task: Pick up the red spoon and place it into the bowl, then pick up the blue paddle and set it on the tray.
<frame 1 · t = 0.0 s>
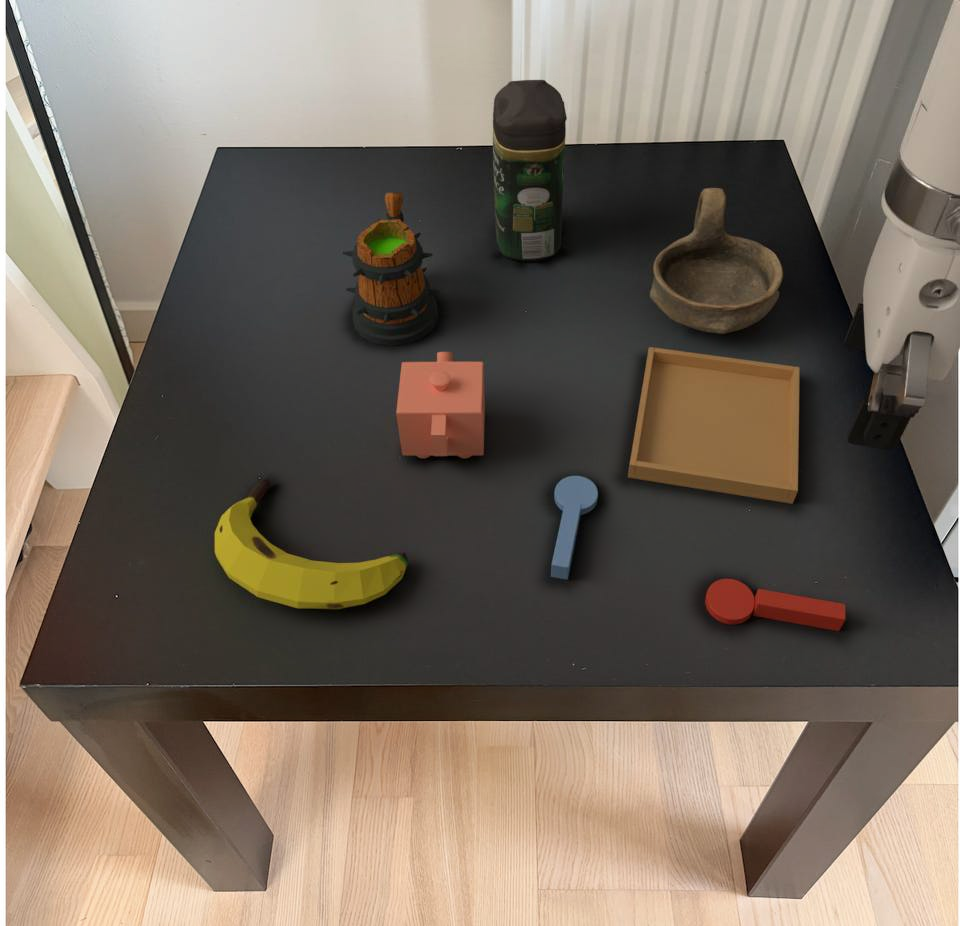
hand: (867, 393, 66), 19 cm above the table, tool pointing down, fingers open, 9 cm apart
blue paddle: (569, 528, 82), on the table
coffee jar: (527, 241, 110), on the table
piggy bank: (445, 433, 90), on the table
mug: (397, 309, 102), on the table
red spoon: (771, 611, 76), on the table
banana: (315, 550, 82), on the table
bowl: (707, 302, 102), on the table
tray: (714, 427, 90), on the table
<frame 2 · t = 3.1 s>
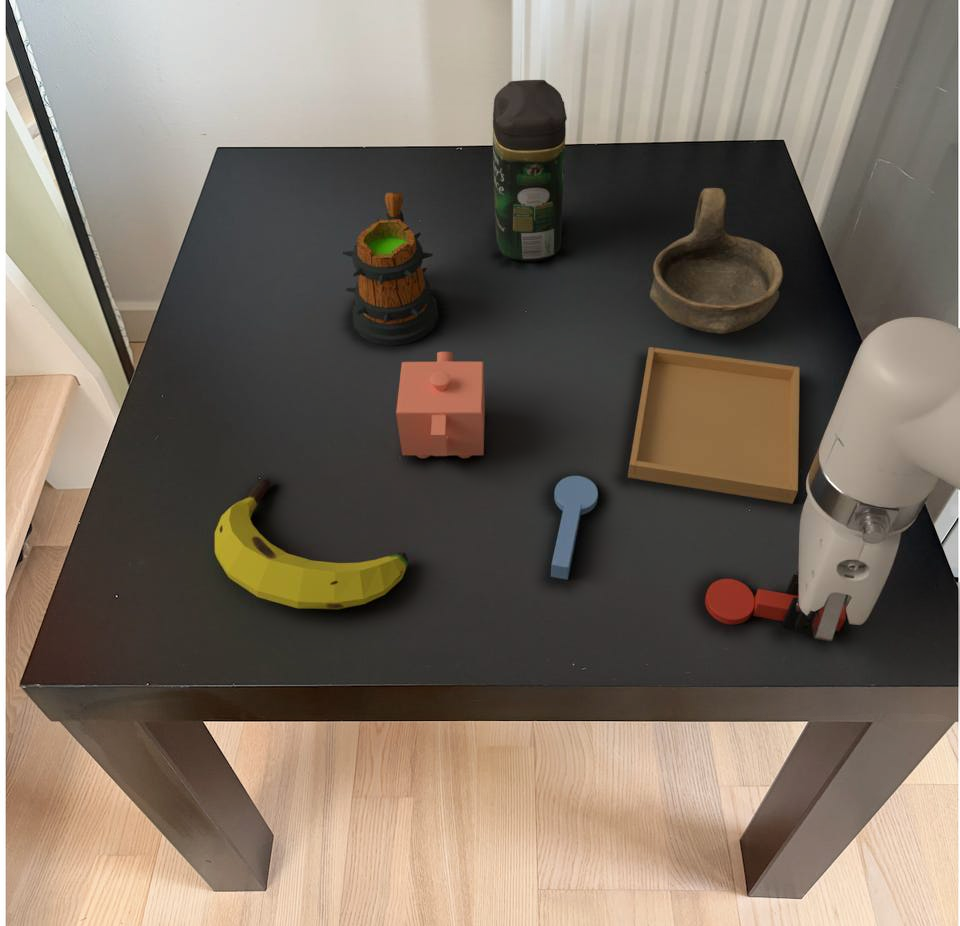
hand: (801, 616, 76), 0 cm above the table, tool pointing down, fingers closed on red spoon, 1 cm apart
red spoon: (771, 611, 76), on the table, touching gripper
everything else where it was.
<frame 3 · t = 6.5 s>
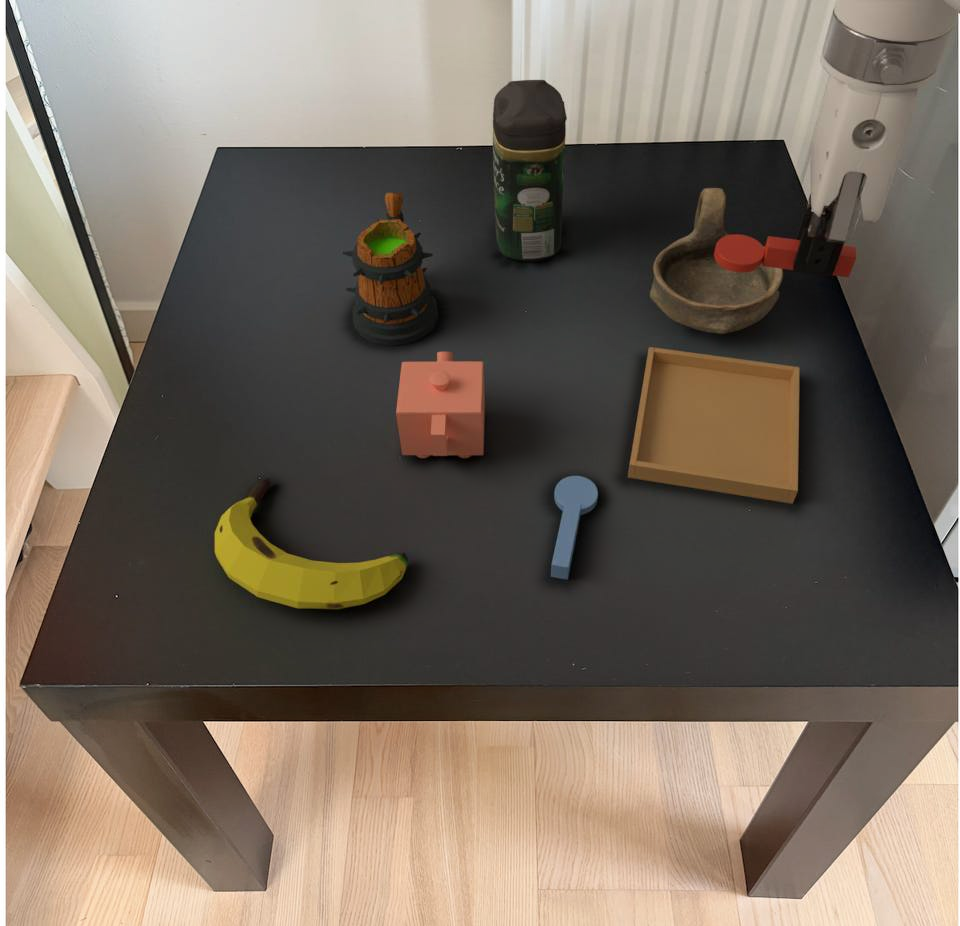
hand: (812, 262, 75), 20 cm above the table, tool pointing down, fingers closed on red spoon, 1 cm apart
red spoon: (780, 263, 76), point 19 cm above the table, touching gripper
everything else where it was.
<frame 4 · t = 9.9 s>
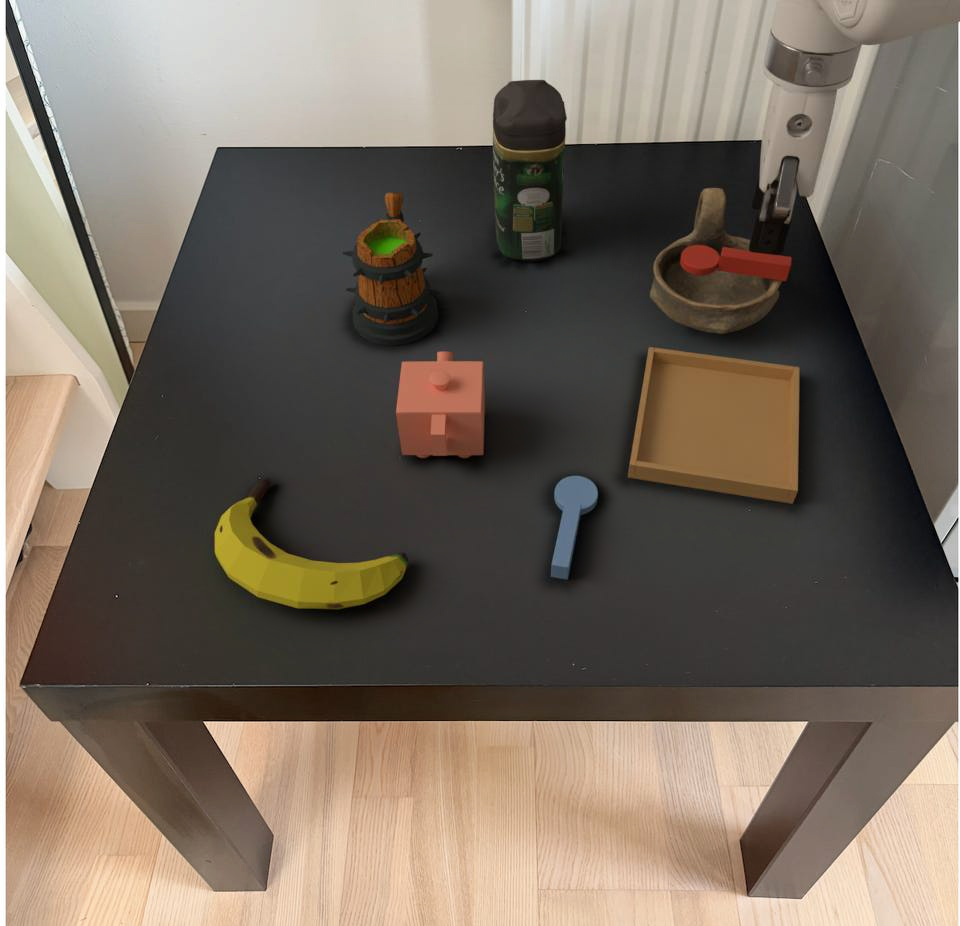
hand: (766, 228, 91), 12 cm above the table, tool pointing down, fingers open, 6 cm apart
red spoon: (732, 268, 95), point 7 cm above the table, touching bowl
bowl: (707, 302, 102), on the table, touching red spoon
everything else where it was.
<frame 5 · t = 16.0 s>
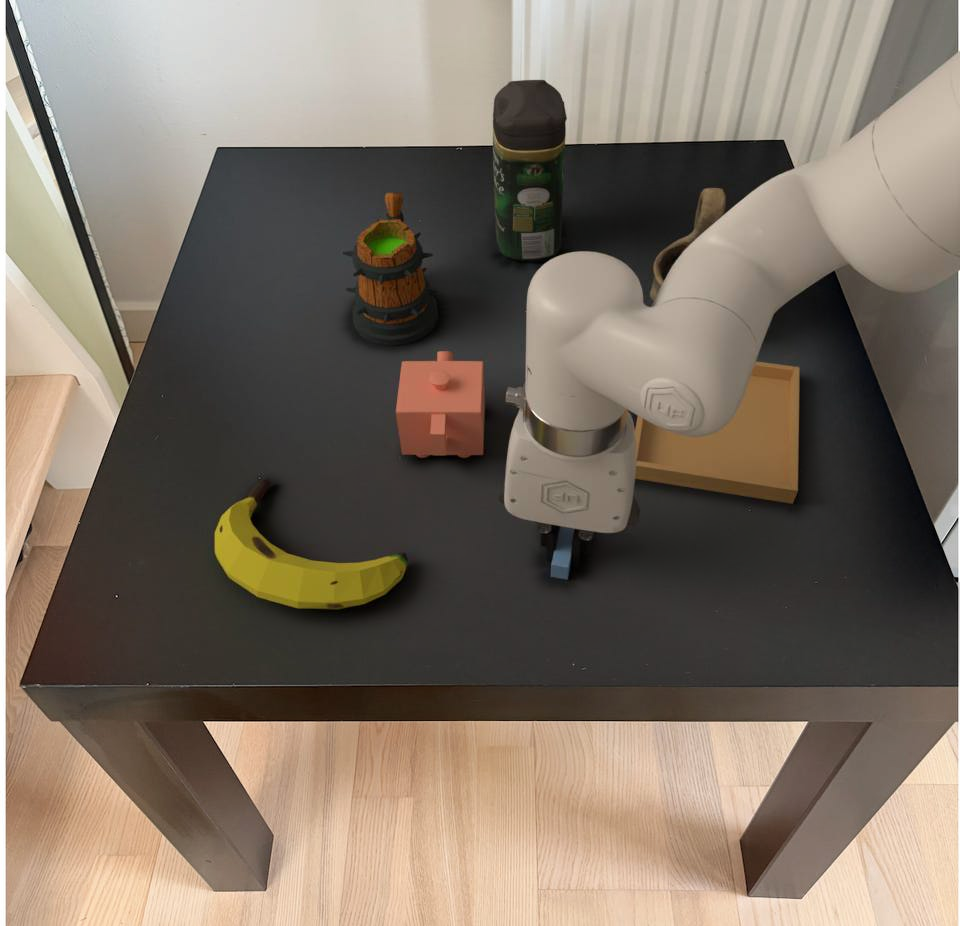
hand: (565, 549, 81), 0 cm above the table, tool pointing down, fingers closed on blue paddle, 1 cm apart
blue paddle: (569, 528, 82), on the table, touching gripper
everything else where it was.
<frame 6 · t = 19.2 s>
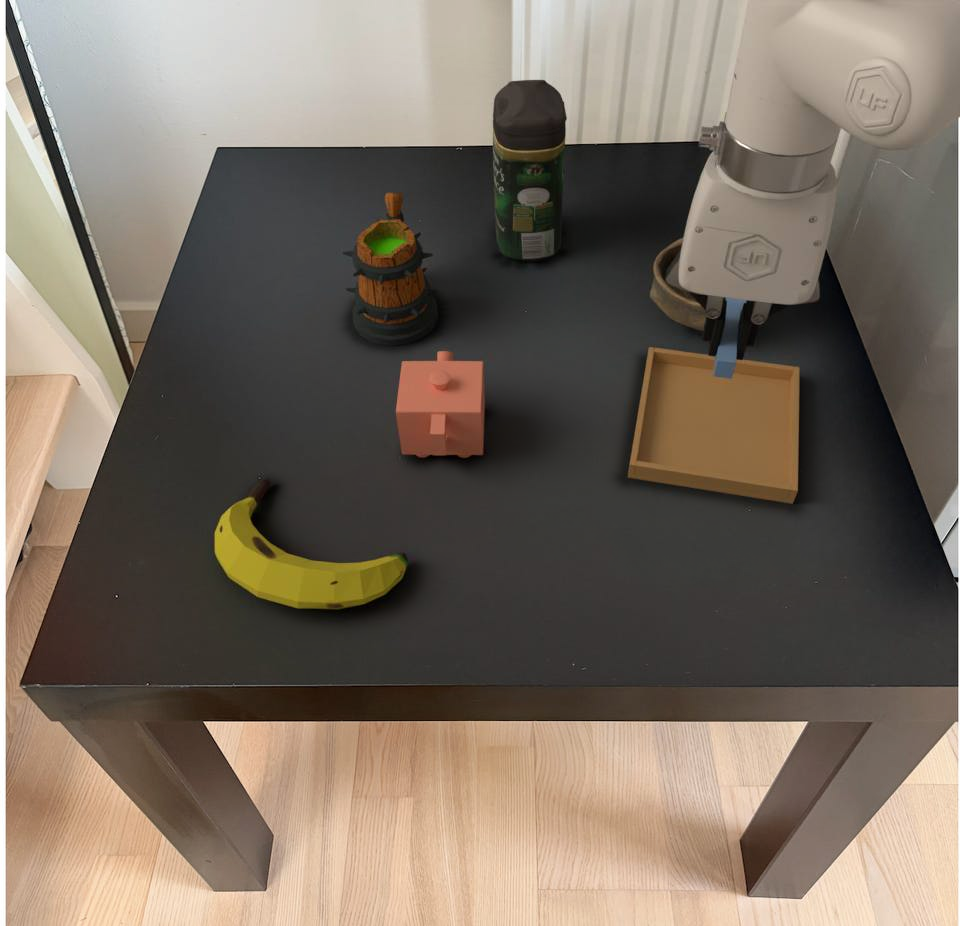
hand: (726, 345, 76), 14 cm above the table, tool pointing down, fingers closed on blue paddle, 1 cm apart
blue paddle: (726, 330, 78), point 14 cm above the table, touching gripper
everything else where it was.
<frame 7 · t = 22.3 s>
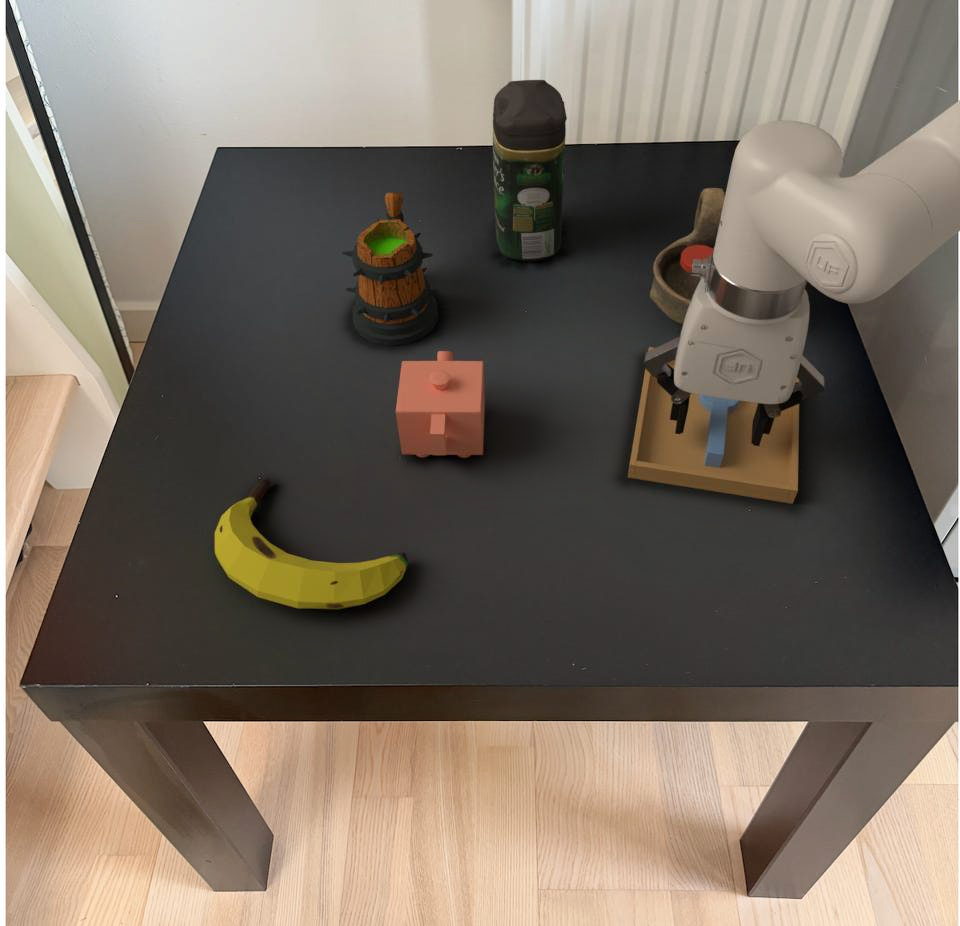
hand: (717, 427, 86), 3 cm above the table, tool pointing down, fingers open, 6 cm apart
blue paddle: (716, 424, 89), resting on tray
everything else where it was.
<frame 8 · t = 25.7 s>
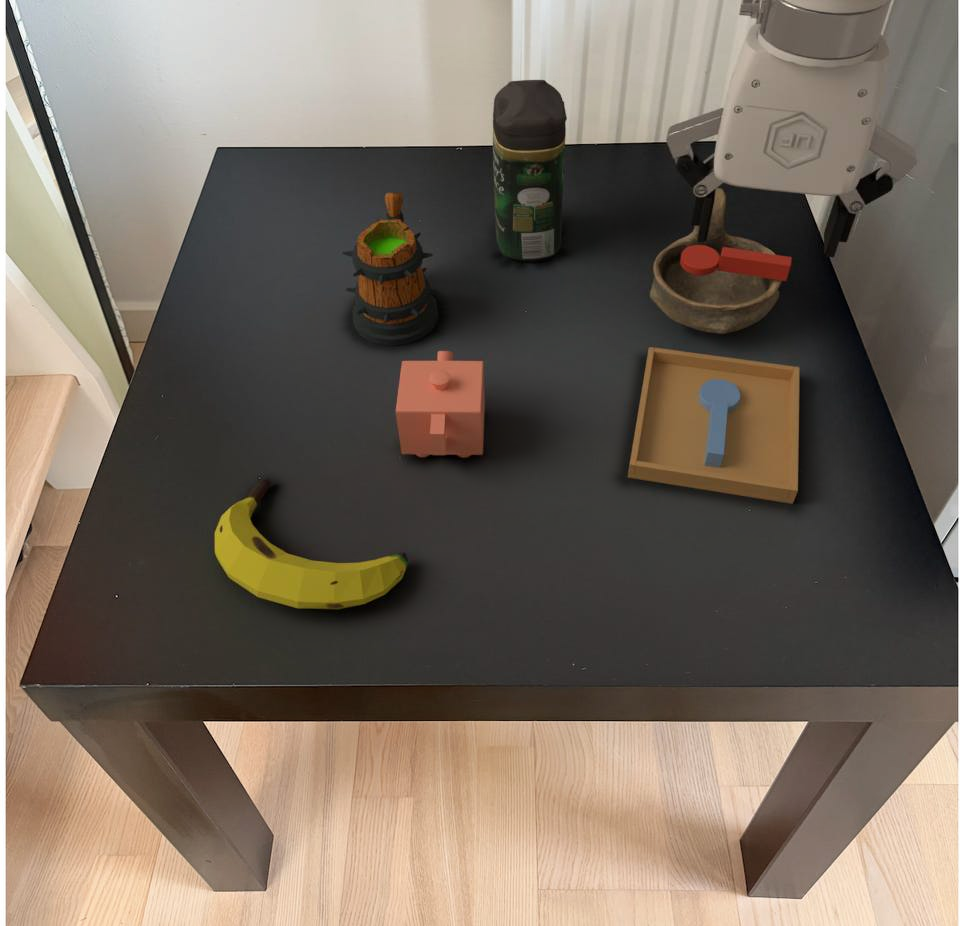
hand: (764, 238, 71), 23 cm above the table, tool pointing down, fingers open, 9 cm apart
nothing on the table moved.
at the end: red spoon inside the target area in the bowl (2.9 cm from its centre), point 6.7 cm above the bowl's base; blue paddle inside the target area on the tray (0.1 cm from its centre), point 0.5 cm above the tray's base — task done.
